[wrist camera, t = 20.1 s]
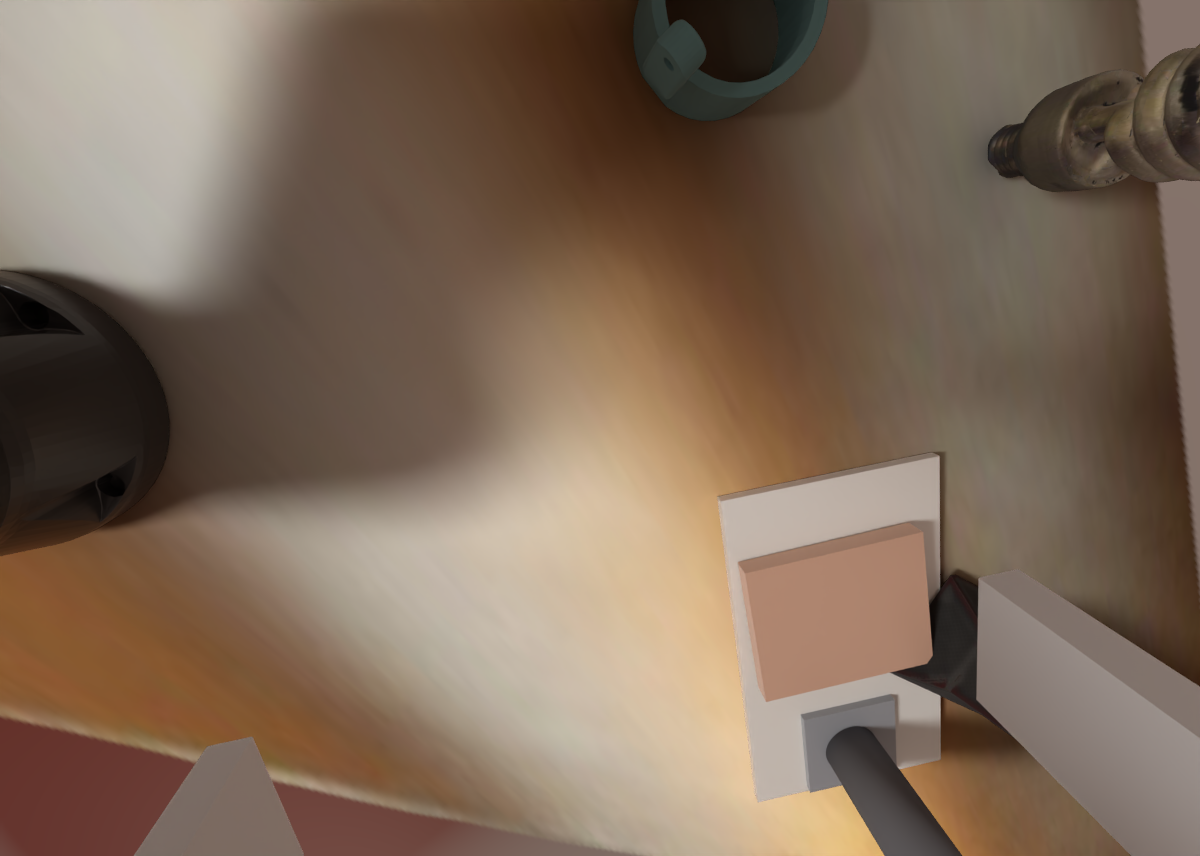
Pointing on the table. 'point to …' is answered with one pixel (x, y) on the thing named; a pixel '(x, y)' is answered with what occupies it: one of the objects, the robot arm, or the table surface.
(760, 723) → the board
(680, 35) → the bracket
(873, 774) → the tool handle
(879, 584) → the tile
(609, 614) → the table surface
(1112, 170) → the light bulb
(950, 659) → the barrier
